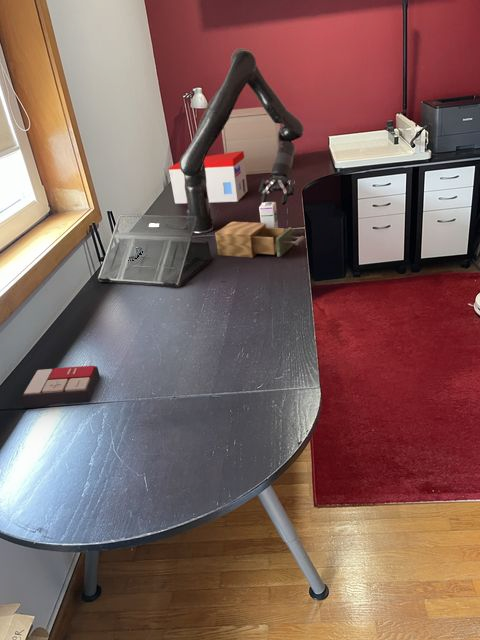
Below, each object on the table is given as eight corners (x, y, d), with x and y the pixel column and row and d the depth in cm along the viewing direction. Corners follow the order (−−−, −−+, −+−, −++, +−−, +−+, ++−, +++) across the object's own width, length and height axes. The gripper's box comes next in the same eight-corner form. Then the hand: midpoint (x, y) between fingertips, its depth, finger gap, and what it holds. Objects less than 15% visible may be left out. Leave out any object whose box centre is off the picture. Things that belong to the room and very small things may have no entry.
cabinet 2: (267, 245, 199) (265, 223, 195) (252, 257, 189) (250, 234, 184) (234, 242, 205) (232, 221, 201) (218, 255, 195) (215, 232, 190)
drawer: (308, 246, 191) (307, 228, 188) (295, 258, 182) (294, 239, 178) (261, 242, 199) (259, 225, 196) (246, 254, 190) (244, 236, 186)
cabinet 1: (226, 176, 315) (219, 116, 298) (231, 166, 340) (224, 110, 323) (282, 171, 312) (278, 110, 295) (283, 162, 337) (279, 105, 320)
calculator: (86, 388, 116) (20, 393, 116) (90, 403, 118) (25, 408, 118) (97, 363, 125) (36, 367, 125) (100, 377, 128) (40, 381, 127)
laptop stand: (96, 283, 181) (82, 233, 172) (138, 255, 203) (128, 209, 194) (177, 289, 170) (167, 236, 161) (212, 258, 192) (205, 210, 183)
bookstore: (238, 201, 260) (233, 159, 250) (175, 203, 269) (167, 162, 258) (248, 191, 278) (243, 150, 267) (188, 193, 286) (182, 154, 275)
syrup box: (276, 242, 201) (273, 205, 194) (262, 242, 203) (258, 206, 195) (279, 237, 206) (276, 201, 199) (265, 237, 207) (261, 202, 200)
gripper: (262, 162, 204) (253, 198, 201) (295, 161, 198) (286, 199, 195) (269, 172, 210) (260, 208, 208) (301, 172, 205) (292, 209, 202)
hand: (273, 203), depth 201 cm, fingers open, 8 cm apart
